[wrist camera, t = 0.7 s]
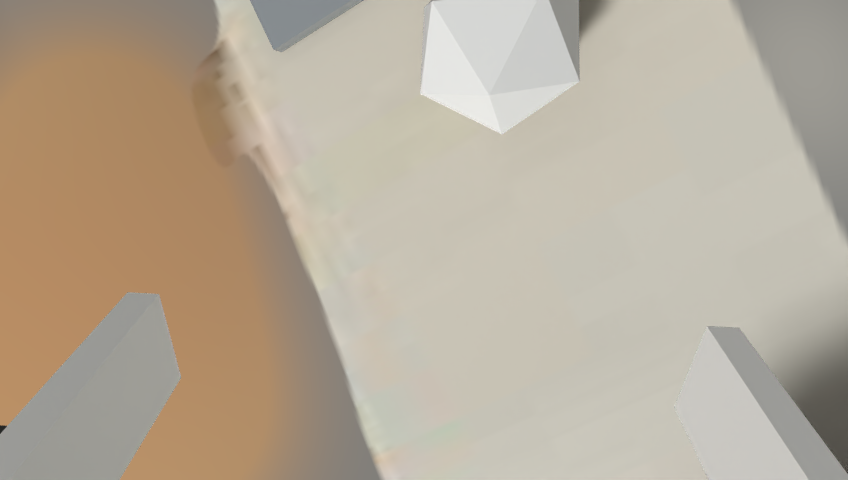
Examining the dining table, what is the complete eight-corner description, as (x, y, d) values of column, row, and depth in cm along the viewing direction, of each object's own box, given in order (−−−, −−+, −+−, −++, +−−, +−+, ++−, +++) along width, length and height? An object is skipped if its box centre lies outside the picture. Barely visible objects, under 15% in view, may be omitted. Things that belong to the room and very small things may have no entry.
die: (588, -28, 30) (476, -134, 23) (638, 94, 26) (523, 11, 20) (482, 60, 35) (366, -6, 28) (513, 171, 32) (390, 125, 25)
